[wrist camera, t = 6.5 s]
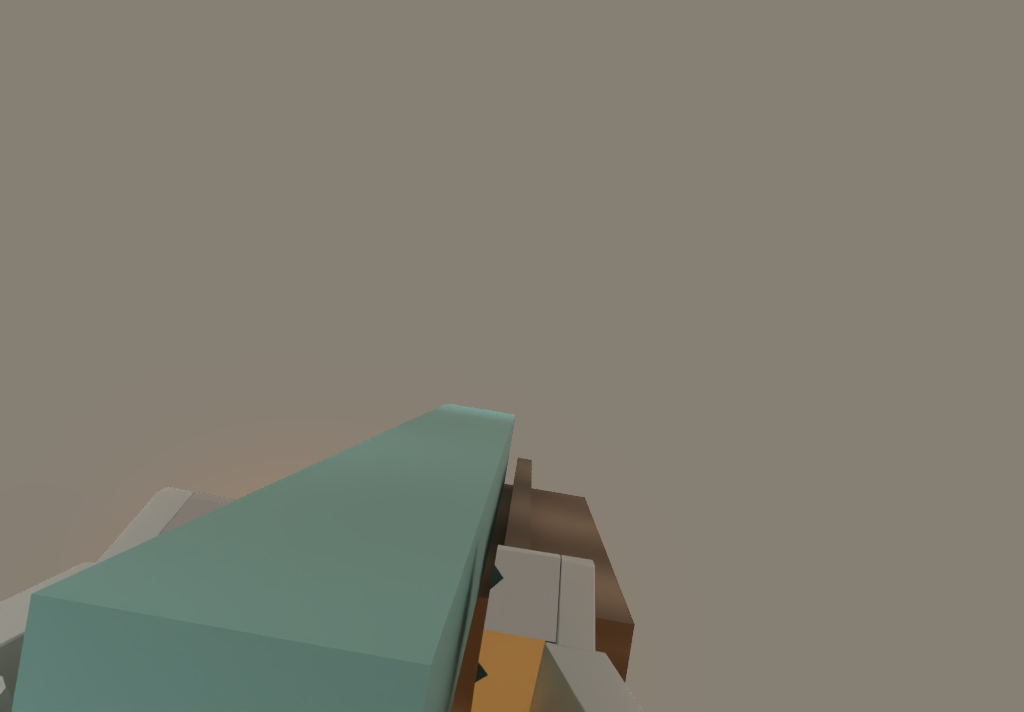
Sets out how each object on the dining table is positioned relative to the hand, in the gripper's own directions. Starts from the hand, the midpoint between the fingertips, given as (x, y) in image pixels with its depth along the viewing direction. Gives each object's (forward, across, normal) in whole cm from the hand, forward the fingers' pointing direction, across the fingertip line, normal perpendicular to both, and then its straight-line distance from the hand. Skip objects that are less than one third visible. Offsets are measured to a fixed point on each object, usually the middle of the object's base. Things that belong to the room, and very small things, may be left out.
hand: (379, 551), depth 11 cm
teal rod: (+4, 0, +5) cm, 7 cm away
